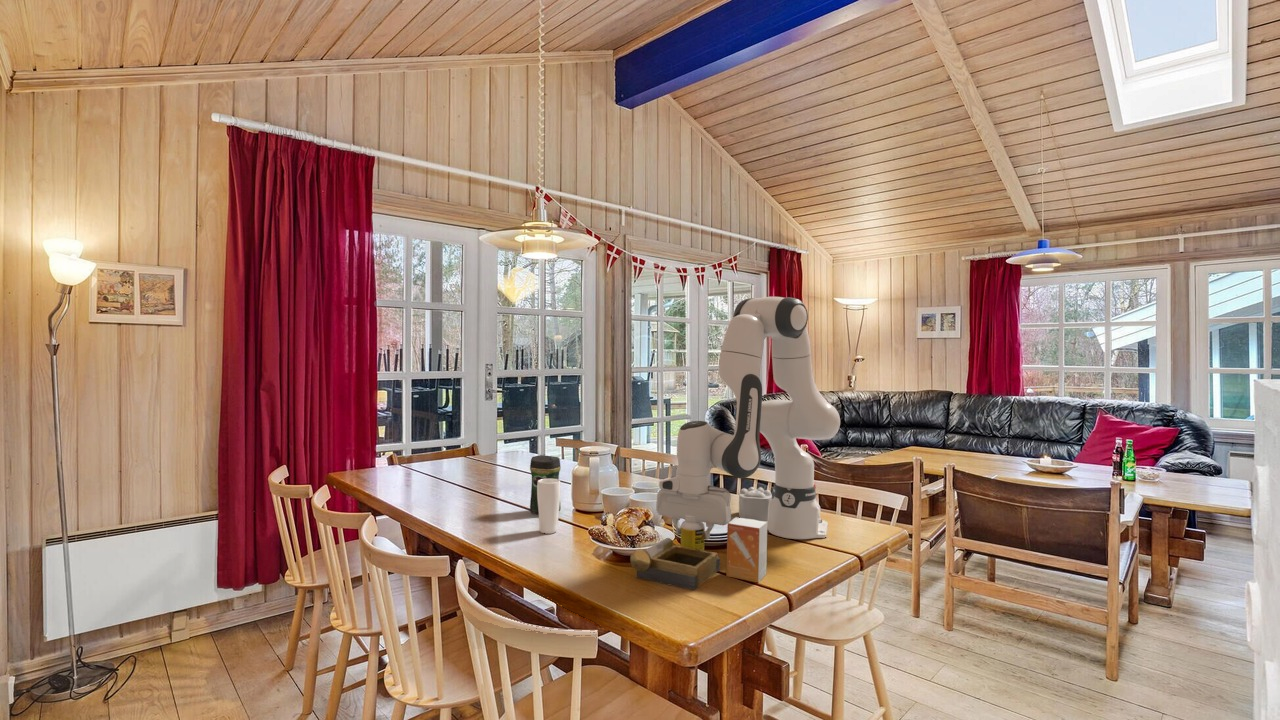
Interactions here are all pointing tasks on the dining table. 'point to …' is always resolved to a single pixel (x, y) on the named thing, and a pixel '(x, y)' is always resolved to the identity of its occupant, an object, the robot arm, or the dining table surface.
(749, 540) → the small box
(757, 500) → the lumpy-topped squat cylinder
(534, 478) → the coffee jar
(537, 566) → the dining table surface
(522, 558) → the dining table surface
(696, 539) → the pill bottle
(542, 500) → the drinking glass
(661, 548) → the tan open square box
